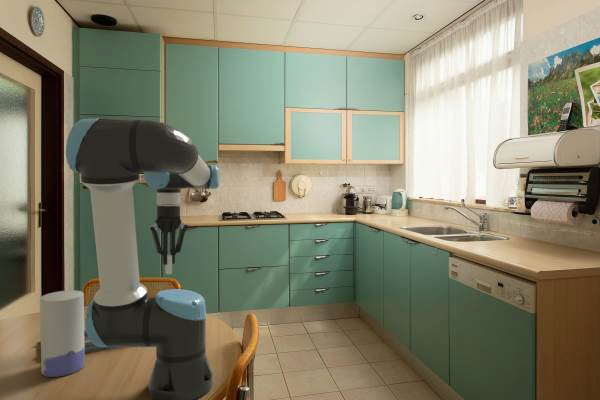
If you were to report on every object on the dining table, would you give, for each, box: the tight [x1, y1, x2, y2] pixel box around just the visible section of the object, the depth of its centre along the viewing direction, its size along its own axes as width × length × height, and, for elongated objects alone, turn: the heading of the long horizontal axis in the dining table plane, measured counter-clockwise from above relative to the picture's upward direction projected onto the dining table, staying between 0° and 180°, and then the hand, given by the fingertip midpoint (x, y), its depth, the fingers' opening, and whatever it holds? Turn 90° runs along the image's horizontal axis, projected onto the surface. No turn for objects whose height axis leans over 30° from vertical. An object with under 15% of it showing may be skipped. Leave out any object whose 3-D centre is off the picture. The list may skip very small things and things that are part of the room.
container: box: [39, 290, 86, 378], centre depth 107 cm, size 10×10×20 cm
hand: (168, 273), depth 137 cm, fingers closed
